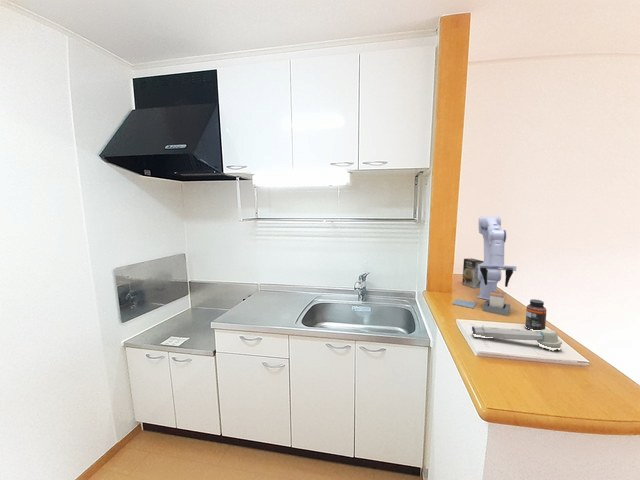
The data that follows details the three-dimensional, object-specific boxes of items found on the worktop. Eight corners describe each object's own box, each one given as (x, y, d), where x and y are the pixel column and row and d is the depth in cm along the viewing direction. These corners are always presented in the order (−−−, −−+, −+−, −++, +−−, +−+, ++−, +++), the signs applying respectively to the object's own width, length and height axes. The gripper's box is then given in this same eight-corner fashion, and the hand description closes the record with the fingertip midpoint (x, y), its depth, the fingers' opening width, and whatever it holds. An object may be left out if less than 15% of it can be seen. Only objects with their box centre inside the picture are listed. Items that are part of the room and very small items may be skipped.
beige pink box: (490, 307, 125) (491, 291, 124) (503, 310, 122) (504, 293, 121) (489, 310, 121) (490, 293, 120) (502, 313, 118) (503, 295, 117)
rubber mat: (456, 299, 136) (456, 298, 136) (477, 303, 130) (477, 302, 130) (452, 304, 129) (452, 303, 129) (473, 308, 124) (473, 307, 123)
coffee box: (461, 284, 165) (463, 258, 163) (470, 283, 166) (471, 258, 165) (473, 288, 156) (475, 261, 154) (482, 287, 158) (484, 260, 156)
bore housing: (486, 305, 128) (486, 300, 128) (510, 309, 122) (510, 304, 122) (482, 310, 121) (482, 305, 121) (507, 316, 115) (508, 310, 115)
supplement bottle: (540, 327, 104) (543, 299, 102) (547, 334, 98) (550, 304, 97) (522, 325, 106) (524, 297, 104) (528, 331, 100) (531, 302, 99)
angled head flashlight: (471, 323, 99) (556, 325, 89) (473, 340, 99) (558, 344, 89) (473, 329, 94) (563, 332, 84) (475, 347, 94) (565, 352, 84)
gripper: (476, 254, 123) (475, 283, 122) (515, 255, 114) (515, 287, 112) (479, 256, 129) (478, 284, 127) (516, 257, 119) (516, 287, 118)
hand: (495, 285), depth 120 cm, fingers open, 7 cm apart
